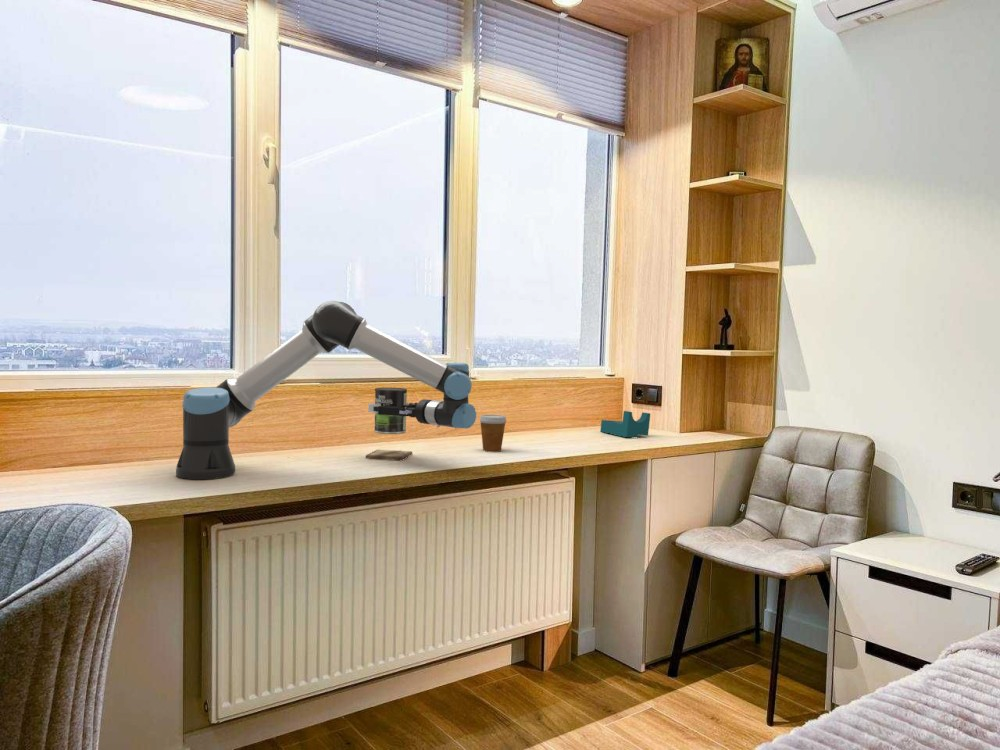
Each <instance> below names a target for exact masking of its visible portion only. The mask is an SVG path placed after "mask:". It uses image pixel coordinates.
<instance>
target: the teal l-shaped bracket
mask: <svg viewBox="0 0 1000 750" xmlns="http://www.w3.org/2000/svg"><path fill="white" fill-rule="evenodd" d="M622 415H623V417H622V420H607V419H601V421H600V422H601V423H600V430H599V432H600V433H604V432H605V434H608V433H610V435H612V434H614V436H617V435H618V437H621V436H623V437H622V438H625V437H637V438H638V436H649V429H650V423H651V422H650V421H651V413H650V412H641V415H640V417H639V419H637V420H635V419H634V417H633V411H627V410H623V413H622Z"/></svg>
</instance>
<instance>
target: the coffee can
mask: <svg viewBox="0 0 1000 750" xmlns="http://www.w3.org/2000/svg"><path fill="white" fill-rule="evenodd" d="M374 391H375V396H374V404H380V405H381V403H383V405H384V406H402V405H406V403H408V402H407V399H408V398H407V396H408V388H404V387H403V388H401V387H375V388H374ZM405 408H406V407H405ZM374 433H376V434H379V435H381V434H382V435H401V434H406V433H407V416H404V417H403V416H394V415H379V414H378V413H374Z"/></svg>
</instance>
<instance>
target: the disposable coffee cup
mask: <svg viewBox="0 0 1000 750" xmlns="http://www.w3.org/2000/svg"><path fill="white" fill-rule="evenodd" d="M478 421H479V422H480V430H481V431H480V432H481V441H482V442H481V443H482V451H484V450H485V451H484V452H488V451H498V452H501V451H502V446H503V441H504V433H505V428H506V427H505V426H506V422H507V421H508V420H507V418H506V416H505V415H501V414H482V415H480V417H479V419H478Z"/></svg>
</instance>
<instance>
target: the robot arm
mask: <svg viewBox="0 0 1000 750" xmlns="http://www.w3.org/2000/svg"><path fill="white" fill-rule="evenodd" d="M339 346H340V347H343V348H345V349H347V350H350V351H351V350H354V349H355V350H357V351H359V352H362V353H363V354H365V355H367V356H370V357H372V358H373V359H375V360H377V361H379V362H382V363H384V364H385V365H388V366H389V367H392V368H394V369H395V370H397V371H399V372H401V373H403V374H404V375H405V374H406V375H407V376H409V377H411V378H413V379H415V380H417V381H420V382H421V383H424V384H425V385H427V386H428V387H431V388H433V389H435V390H437V391H439V392H441V393H442V394H443V398H442V399H443V400H437V399H435V400H434V399H433V400H432V399H425V398H424V399H421V400H420V401H418V402H414V403H413V402H407V403H406V405H402V406H384V405H383V403H381V405H380V404H375V403H373V402H371V403H368V406H367V407H368V413H374V414H375V413H378V414H379V415H394V416H403V417H404V416H406V417H409V418H415V419H416V421H417V422H418V423H420V424H424V425H433V426H434V425H435V426H436V427H437V428H440V427H441V426H442V427H448V428H455V429H465V430H466V429H470V428H471V427H473V425H475V423H476V420H477V411H476V408H475V406H474V405H473V404H471V403H469V394H470V393H471V391H472V387H473V386H472V385H473V384H472V379H471V378H470V367H469V364H468V363H465V362H463V363H462V362H446V363H444V362H443V361H440V360H439V359H436V358H434V357H432V356H430V355H428V354H426V353H425V352H422V351H421V350H419V349H417V348H415V347H413V346H411V345H409V344H407V343H405V342H403V341H401V340H400V339H397V338H395V337H394V336H392V335H389V334H387V333H385V332H383V331H381V330H379V329H377V328H375V327H374V326H372V325H369V324H368V323H367V319H366V318H364V317H362V316H360V315H358V314H357V313H356V311H355V309H354V308H353V307H352V306H351V305H349V304H348V303H346V302H343V301H337V300H329V301H325V302H322V304H319V306H317V308H315V310H314V312H313V314H311V316H309V317H308V318H306V319H305V320H304V321H303V323H302V329H301V330H299V331H298V332H296V334H294V335H292V337H290V338H288V339H287V340H286V341H285V342H283V343H282V344H281V345H279V346H278V347H276V348H275V349H274V350H272V351H271V352H270V353H269V354H267V355H266V356H265V357H264V358H263V357H262V359H261V360H259V361H258V362H257V363H255V364H254V365H253V366H252V367H250V368H248V369H247V370H246V371H244V372H243V373H242V374H241V375H239V376H238V377H237V378H235V377H234V378H232V377H228V378H226V379H225V380H224V381H222V382H220V383H219V384H217V386H216V387H210V386H207V387H205V386H204V387H198V388H192V389H190V390H187V391H186V392H185V393H184V394H183V399H182V423H183V424H182V449H181V453H180V456H179V457H178V461H177V464H176V468H175V476H176V477H177V478H179V479H180V478H181V479H186V480H211V479H213V480H214V479H223V478H226V477H231V476H233V475H235V474H236V464H235V461H234V458H233V455H232V452H231V449H230V445H229V444H230V443H229V442H230V441H229V439H230V437H229V435H230V433H229V431H230V429H229V428H233V427H234V426H236V425H238V423H239V422H241V420H242V419H244V418H245V416H247V415H248V414H250V413H251V412H252V411H254V409H255V408H256V402H257V401H258V400H260V399H261V398H262V397H264V396H265V395H266V394H268V393H269V392H271V390H273V389H274V388H275V387H277V386H278V385H280V383H283V382H284V381H285V380H286V379H287V378H289V377H290V376H292V375H293V374H294V373H295V372H297V371H298V370H299V369H301V368H302V367H303V366H305V365H307V364H308V363H309V362H310V361H312V360H313V359H314V358H315V357H317V356H318V355H319V354H321V353H324V354H329V353H331V352H332V351H334V350H335V349H337V348H338V347H339ZM405 407H406V408H405Z"/></svg>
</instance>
